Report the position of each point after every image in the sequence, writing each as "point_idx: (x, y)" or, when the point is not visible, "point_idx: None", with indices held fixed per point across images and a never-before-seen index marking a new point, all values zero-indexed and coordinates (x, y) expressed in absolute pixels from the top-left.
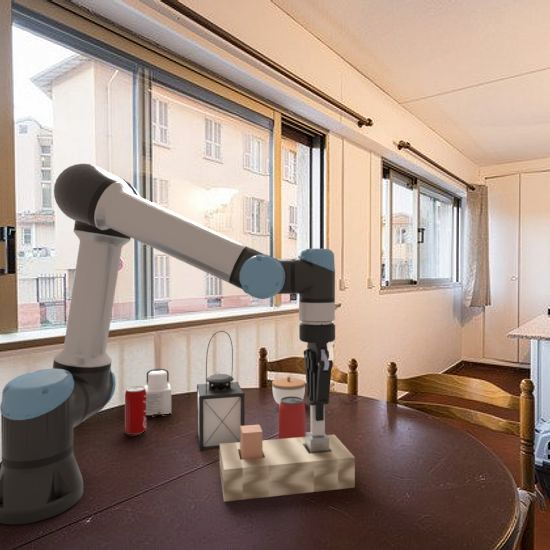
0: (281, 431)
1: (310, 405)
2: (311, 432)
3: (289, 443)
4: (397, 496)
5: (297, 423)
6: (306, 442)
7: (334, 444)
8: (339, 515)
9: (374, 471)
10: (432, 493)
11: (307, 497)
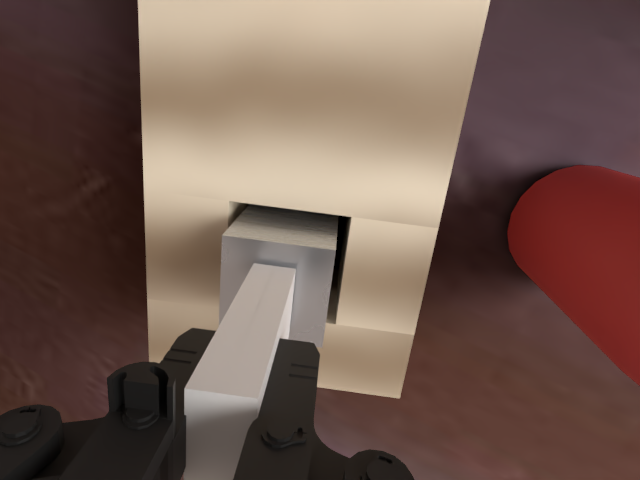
0: (614, 187)
1: (257, 378)
2: (272, 270)
3: (380, 151)
4: None
5: (572, 284)
6: (312, 230)
7: None
8: (48, 184)
9: None
10: None
11: None
